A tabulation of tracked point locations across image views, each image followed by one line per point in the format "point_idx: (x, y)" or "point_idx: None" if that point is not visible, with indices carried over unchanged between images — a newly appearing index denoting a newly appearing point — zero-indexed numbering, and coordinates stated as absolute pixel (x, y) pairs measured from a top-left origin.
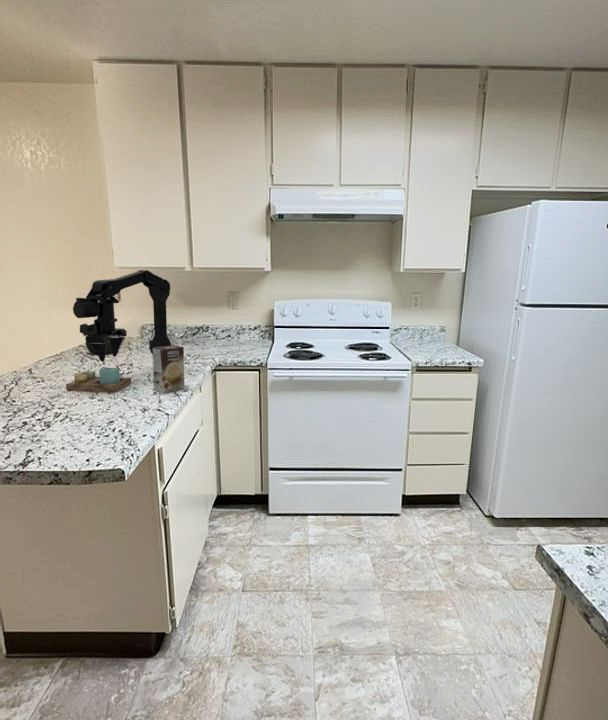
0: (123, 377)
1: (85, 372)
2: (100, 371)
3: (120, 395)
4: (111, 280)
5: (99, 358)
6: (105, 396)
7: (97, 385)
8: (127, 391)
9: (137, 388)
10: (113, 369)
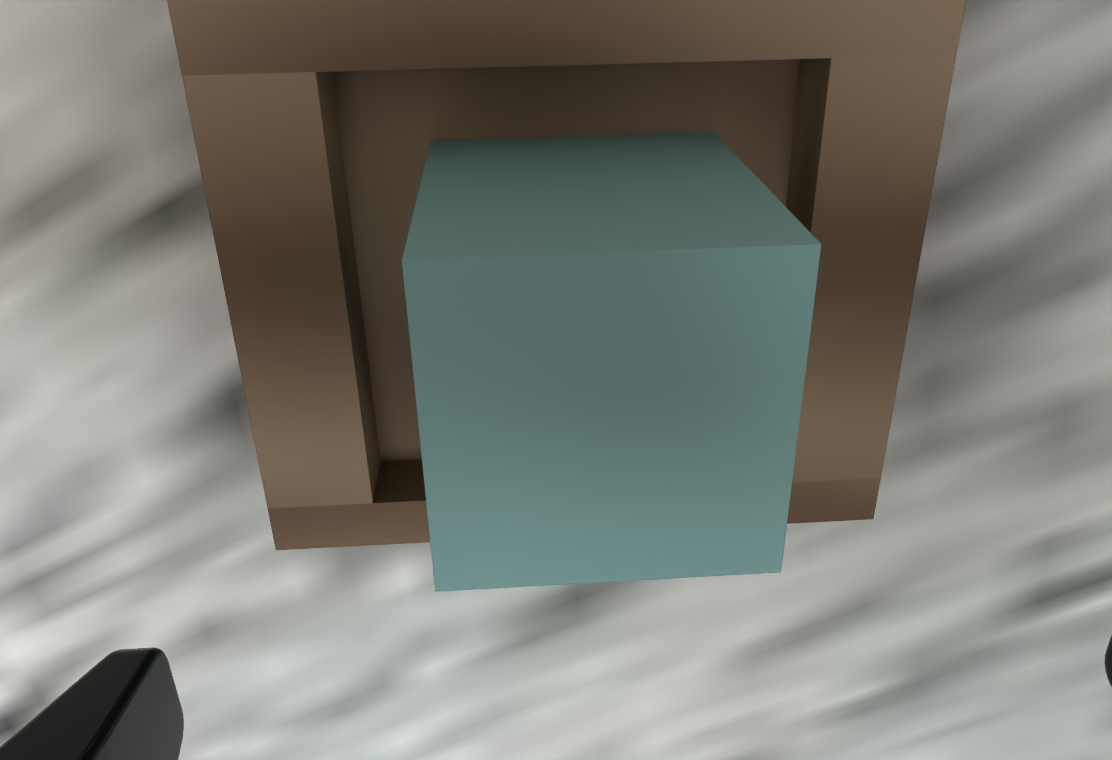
0: (881, 401)
1: None
2: (409, 284)
3: (187, 585)
4: None
5: (25, 731)
6: (61, 426)
7: (215, 220)
8: (403, 580)
9: (580, 629)
10: (595, 533)
